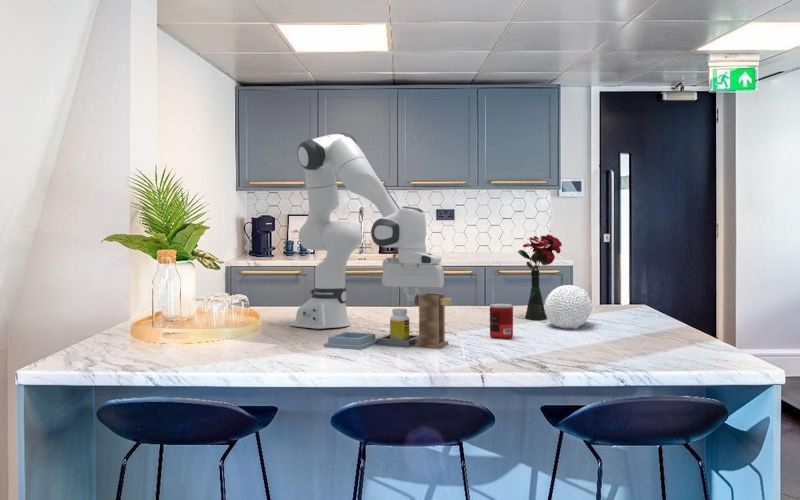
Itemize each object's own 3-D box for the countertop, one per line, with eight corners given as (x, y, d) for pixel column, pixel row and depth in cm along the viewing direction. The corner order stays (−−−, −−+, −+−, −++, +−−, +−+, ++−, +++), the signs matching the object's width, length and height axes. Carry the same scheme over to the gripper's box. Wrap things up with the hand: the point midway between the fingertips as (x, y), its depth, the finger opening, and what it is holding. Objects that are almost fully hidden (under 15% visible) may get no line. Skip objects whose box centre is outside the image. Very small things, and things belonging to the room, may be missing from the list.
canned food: (515, 336, 208) (515, 304, 208) (509, 339, 201) (509, 306, 200) (493, 334, 211) (493, 303, 211) (487, 338, 204) (486, 305, 204)
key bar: (414, 305, 190) (414, 296, 190) (419, 303, 194) (419, 295, 194) (447, 306, 186) (447, 298, 186) (452, 305, 189) (452, 296, 189)
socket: (376, 345, 192) (376, 338, 192) (391, 339, 202) (391, 333, 202) (409, 347, 187) (409, 340, 187) (422, 341, 197) (422, 335, 197)
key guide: (415, 346, 188) (415, 295, 188) (424, 342, 195) (424, 293, 195) (439, 348, 185) (439, 296, 185) (448, 344, 192) (448, 293, 192)
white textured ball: (583, 334, 212) (583, 287, 212) (535, 330, 221) (535, 285, 221) (598, 327, 229) (598, 283, 228) (552, 323, 238) (552, 281, 238)
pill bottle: (407, 345, 191) (407, 310, 191) (388, 344, 192) (388, 309, 192) (411, 342, 197) (411, 308, 197) (392, 341, 198) (392, 307, 198)
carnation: (509, 320, 248) (509, 234, 248) (550, 318, 252) (550, 234, 252) (525, 325, 233) (525, 234, 232) (569, 324, 237) (569, 234, 237)
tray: (323, 346, 189) (323, 337, 189) (343, 340, 201) (343, 331, 201) (361, 349, 184) (361, 339, 184) (379, 342, 196) (379, 333, 196)
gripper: (378, 257, 193) (378, 301, 194) (438, 258, 185) (439, 303, 186) (386, 257, 199) (386, 299, 200) (445, 257, 191) (445, 301, 191)
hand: (412, 301), depth 192 cm, fingers closed
